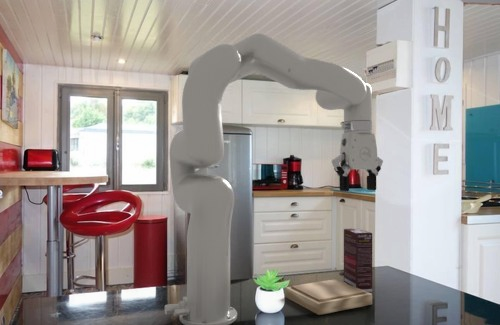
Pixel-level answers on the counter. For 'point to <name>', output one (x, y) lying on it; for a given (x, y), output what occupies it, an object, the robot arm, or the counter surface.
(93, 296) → the counter surface
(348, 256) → the supplement box
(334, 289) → the oak stand
